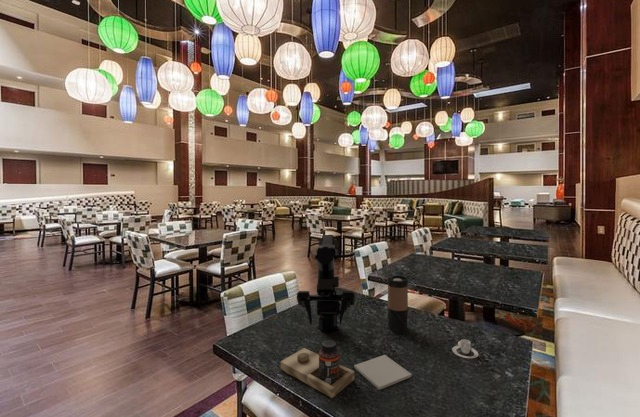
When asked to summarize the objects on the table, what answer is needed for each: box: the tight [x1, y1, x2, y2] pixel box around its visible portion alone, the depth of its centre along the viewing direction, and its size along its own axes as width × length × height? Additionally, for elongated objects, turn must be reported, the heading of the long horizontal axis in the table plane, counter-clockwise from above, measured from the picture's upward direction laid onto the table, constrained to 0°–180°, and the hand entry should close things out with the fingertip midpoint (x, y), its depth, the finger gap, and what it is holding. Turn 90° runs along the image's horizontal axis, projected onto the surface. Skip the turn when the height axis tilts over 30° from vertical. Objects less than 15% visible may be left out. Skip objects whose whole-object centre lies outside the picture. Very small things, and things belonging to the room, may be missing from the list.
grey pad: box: [354, 354, 412, 391], centre depth 93 cm, size 12×12×1 cm
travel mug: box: [387, 275, 409, 334], centre depth 120 cm, size 8×8×20 cm
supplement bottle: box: [318, 339, 341, 385], centre depth 88 cm, size 6×6×11 cm
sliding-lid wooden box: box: [280, 347, 355, 399], centre depth 92 cm, size 20×10×4 cm, turn 49°
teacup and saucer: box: [451, 338, 479, 359], centre depth 103 cm, size 9×8×4 cm
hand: (325, 324), depth 96 cm, fingers open, 9 cm apart
